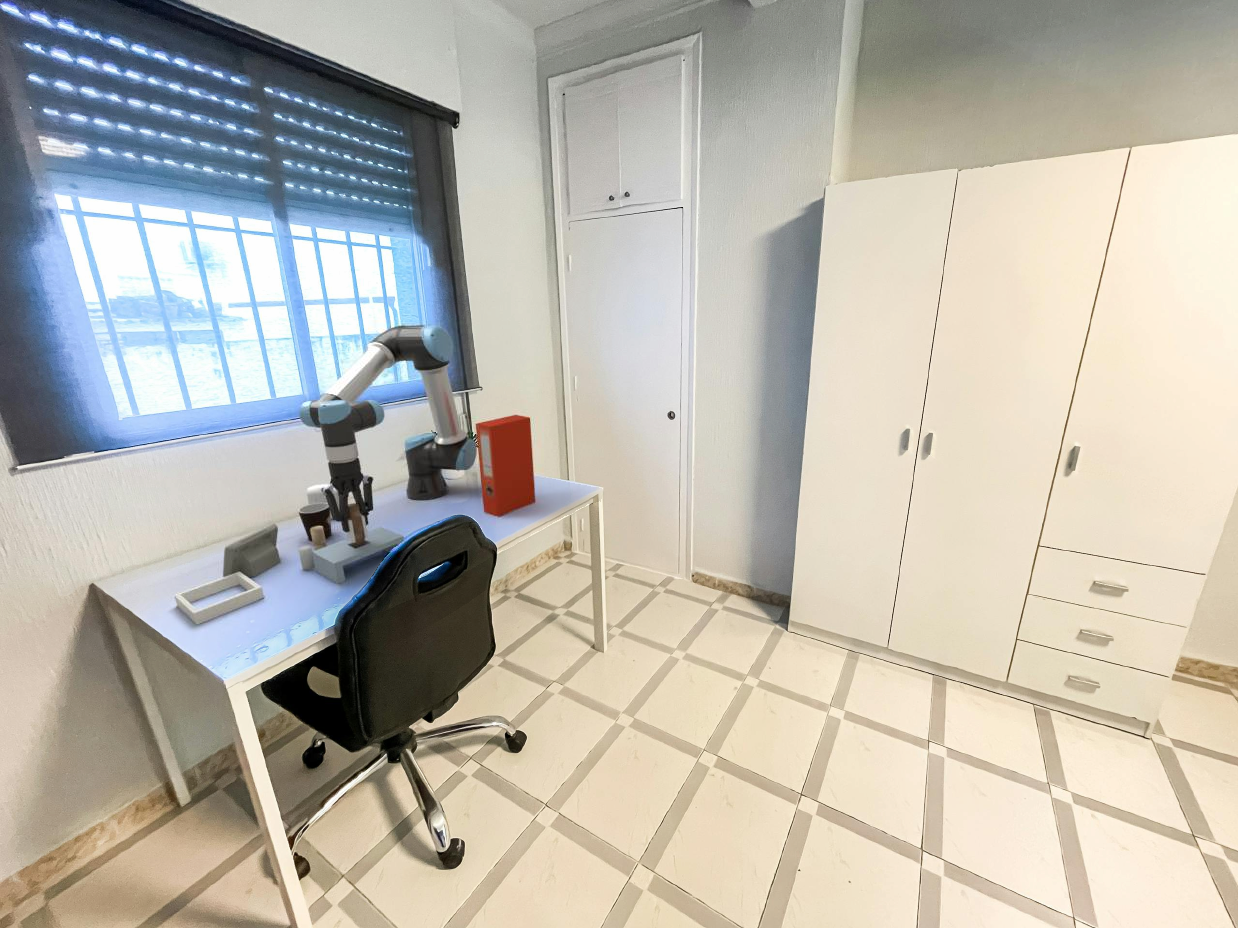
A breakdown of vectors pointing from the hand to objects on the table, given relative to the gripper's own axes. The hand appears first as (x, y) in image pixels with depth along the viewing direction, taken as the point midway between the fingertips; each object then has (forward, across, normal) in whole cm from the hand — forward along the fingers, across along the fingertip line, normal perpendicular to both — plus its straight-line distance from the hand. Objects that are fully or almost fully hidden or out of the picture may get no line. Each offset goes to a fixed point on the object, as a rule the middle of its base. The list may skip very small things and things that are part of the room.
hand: (358, 538), depth 145 cm
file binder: (+8, -53, +4) cm, 54 cm away
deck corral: (+8, +31, -10) cm, 33 cm away
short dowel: (+8, +10, -10) cm, 16 cm away
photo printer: (+8, -11, -42) cm, 44 cm away
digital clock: (+8, +19, -22) cm, 30 cm away
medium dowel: (+8, +4, -14) cm, 17 cm away
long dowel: (+5, 0, 0) cm, 5 cm away
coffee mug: (+8, -3, -29) cm, 30 cm away
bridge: (+8, 0, 0) cm, 8 cm away
